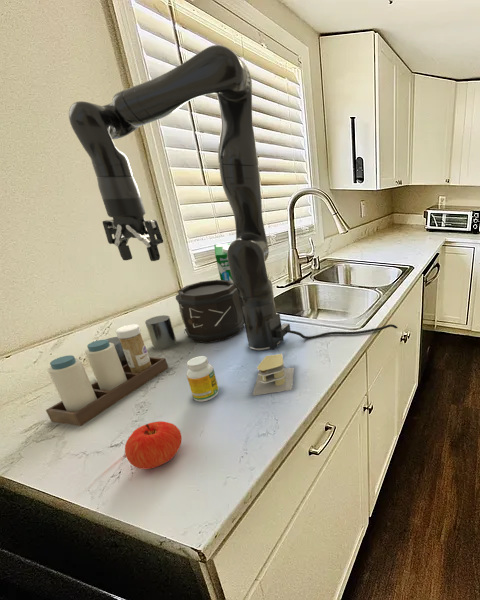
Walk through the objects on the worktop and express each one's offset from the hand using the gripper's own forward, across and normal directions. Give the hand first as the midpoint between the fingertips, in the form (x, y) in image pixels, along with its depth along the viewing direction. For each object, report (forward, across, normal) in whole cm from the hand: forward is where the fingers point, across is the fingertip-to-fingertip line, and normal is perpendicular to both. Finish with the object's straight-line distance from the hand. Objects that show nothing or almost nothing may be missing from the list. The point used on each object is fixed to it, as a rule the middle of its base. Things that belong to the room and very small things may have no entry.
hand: (141, 260), depth 87 cm
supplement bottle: (+28, -26, +17) cm, 42 cm away
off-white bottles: (+27, -3, +23) cm, 36 cm away
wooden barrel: (+28, -5, -14) cm, 32 cm away
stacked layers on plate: (+28, -39, +9) cm, 49 cm away
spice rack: (+28, -4, +19) cm, 34 cm away
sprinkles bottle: (+28, -4, +12) cm, 30 cm away
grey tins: (+28, +4, +4) cm, 29 cm away
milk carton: (+28, 0, -34) cm, 44 cm away
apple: (+28, -30, +35) cm, 54 cm away
